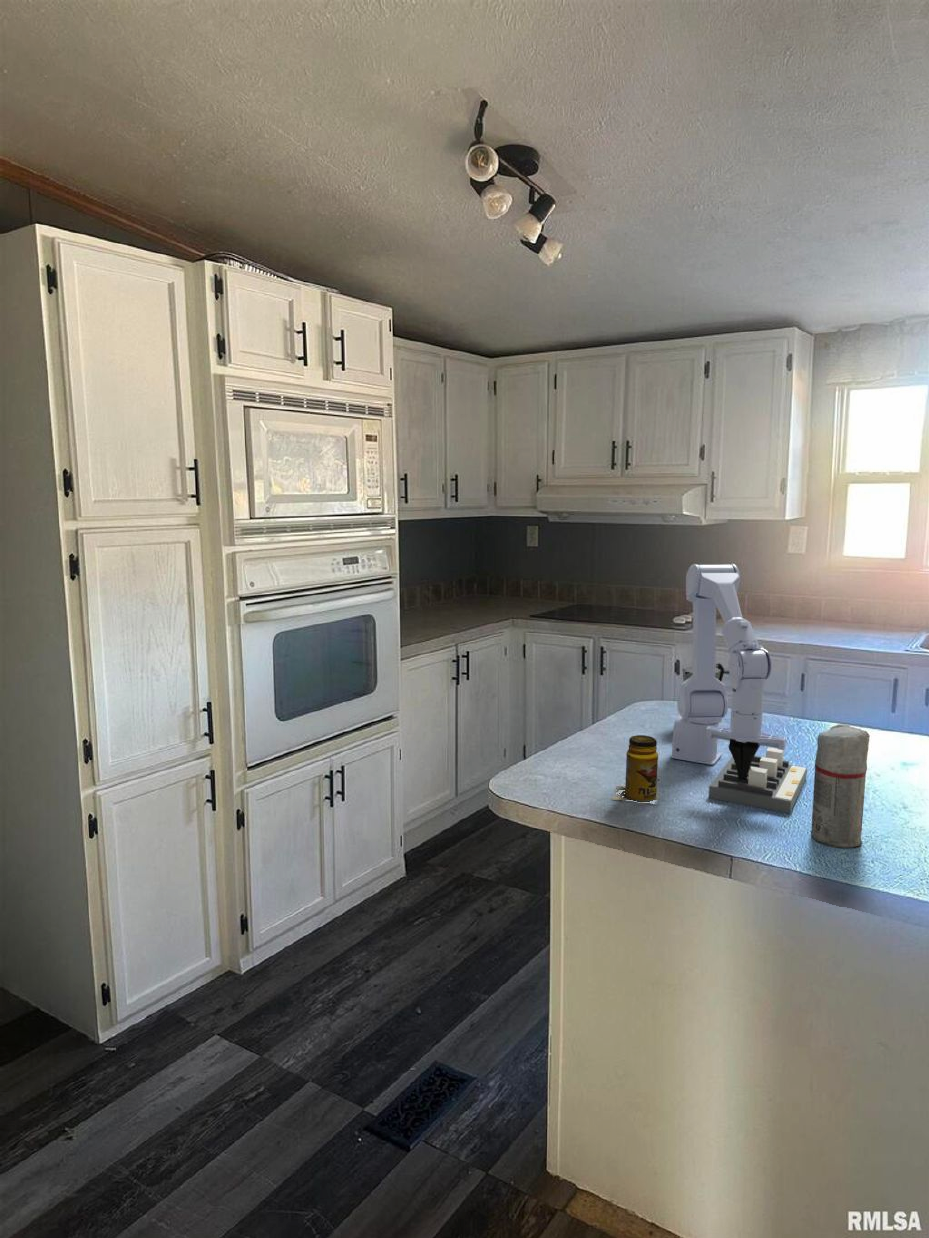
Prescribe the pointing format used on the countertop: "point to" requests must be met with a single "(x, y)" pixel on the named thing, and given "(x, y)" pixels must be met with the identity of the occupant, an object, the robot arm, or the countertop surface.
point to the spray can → (839, 786)
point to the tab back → (775, 755)
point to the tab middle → (769, 766)
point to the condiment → (640, 771)
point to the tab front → (757, 777)
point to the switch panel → (773, 797)
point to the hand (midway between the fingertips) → (742, 778)
